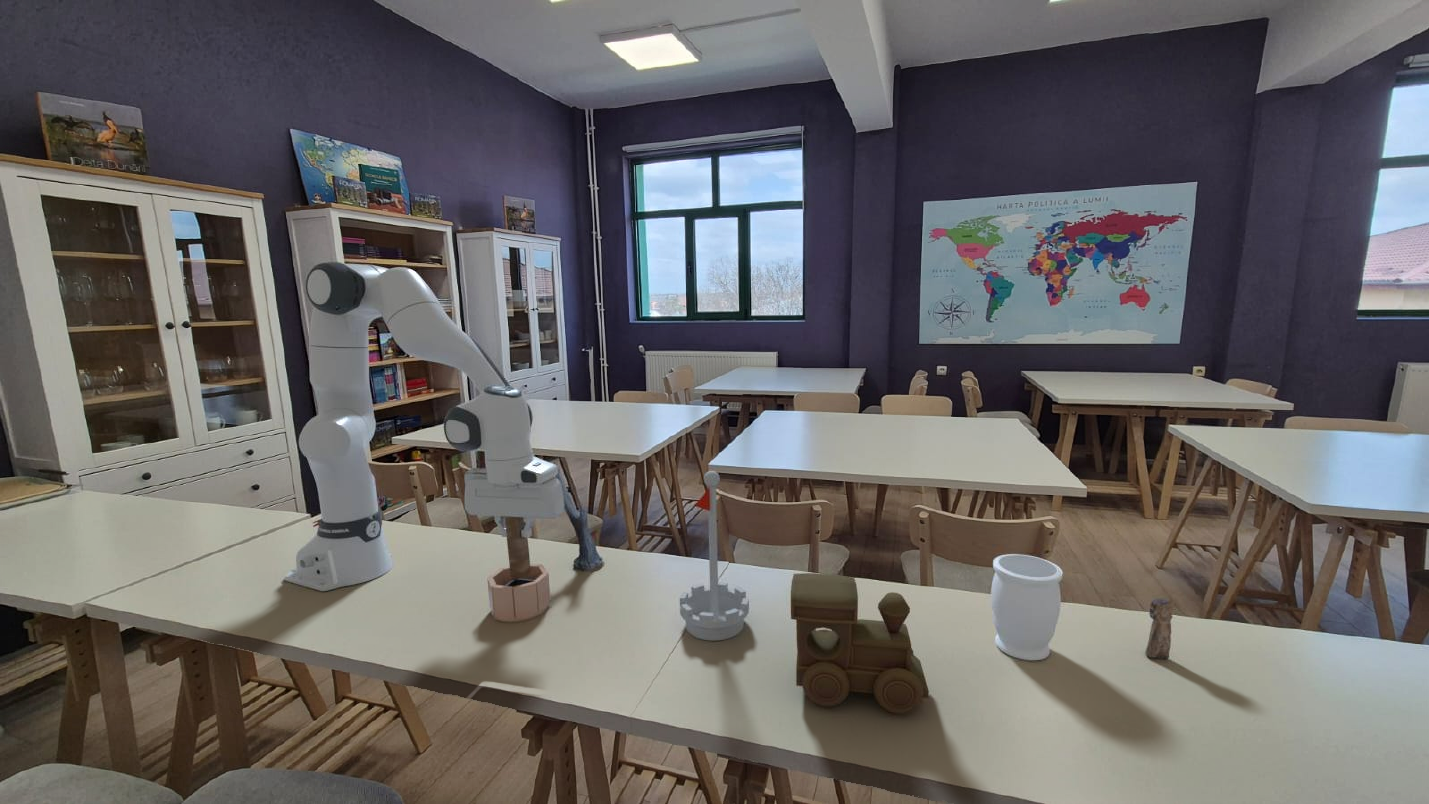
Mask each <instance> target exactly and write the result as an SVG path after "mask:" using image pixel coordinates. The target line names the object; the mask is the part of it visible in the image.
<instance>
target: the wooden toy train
mask: <svg viewBox="0 0 1429 804" xmlns="http://www.w3.org/2000/svg"><path fill="white" fill-rule="evenodd" d="M856 582H857V581H856V579H855V577H854V576H849V575H848V576H847V575H842V574H840V575H839V574H832V573H830V574H829V573H816V572H815V573H813V572H808V573H807V572H805V573H804V572H803V573H794V574H793V576H792V579H791V585H790V586H791V587H790V619H791V620H794V621H796V628H795V629H796V651H797V652H796V664H795V666H796V667H795V668H796V669H795V670H796V672H795V673H796V674H795V675H796V676H795V677H796V680H795V683H796V684H795V685H796V687H802V689H803V692H804V693H805V695H806V697H807V698H809V700H810V701H811V702H813V703H815V704H816V705H818V706H820V707H821V706H822V707H827V708H828V707H834V706H839V705H840V704H841V703H842V702H844V701H845V700H846V699H847V697H848V696H849V694H850V692H858V693H866V694H867V693H869V694H873V697H874V698H875V699H876V701H877V703H878V704H879V705H880V706H881V707H882V708H883V709H884V710H886V711H888V712H890V713H891V714H896V715H906V714H908V713H911V712H914V711H915V710H916V709H918V707H919V706H920V705H921V704H922V703H921V702H922V701H923V699H929V697H930V696H929V695H930V694H929V693H930V692H929V691H930V690H929V688H928V685H927V680H926V677H925V674H924V671H923V666H922V663H921V660H920V659H919V658H918V657H916V655H915V654H914V650H913V647H912V642H911V637H910V633H909V630H908V627H907V625H906V623H904V622H906V619H907V618H908V616H909V614H910V612H911V608H910V606H909V605H908V602H907V601H906V599H905V598H904V596H903V595H902V594H900V593H898V592H893V591H892V592H888V593H886V594H885V595H884V596H883V598H882V599H880V601H879V602H878V603H877V609H878V611H879V614H880V616H881V618H882V620H875V619H874V620H873V619H861V618H860V619H858V617H859V616H858V614H859V609H858V608H859V596H858V595H859V594H858V587H857V583H856ZM817 629H818V630H817Z"/></svg>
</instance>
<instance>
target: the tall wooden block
mask: <svg viewBox="0 0 1429 804" xmlns="http://www.w3.org/2000/svg"><path fill="white" fill-rule="evenodd" d="M526 523H527V522H524V518H523V517H506V516H505V525H506V535H507V537H506V542H507V543H506V545H507V552H508V564H509V566H510V575H511V577H513V578H524V577H525V576H527V575H528V574H529V573H530V572H531V568H530V564H531V557H530V548H529V538H521V536H520V535H521V534H520V530H521V529H523V528H524V527H525V525H526Z"/></svg>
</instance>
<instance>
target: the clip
mask: <svg viewBox="0 0 1429 804" xmlns="http://www.w3.org/2000/svg"><path fill="white" fill-rule="evenodd" d="M533 581H535V580H534V579H524V578H513V579H512V580H511V581H510V582H508V583H507V584H506V585H505V586H512V587H514V586H518V585H522V584H526V583H530V582H533Z"/></svg>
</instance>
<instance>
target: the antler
mask: <svg viewBox="0 0 1429 804" xmlns="http://www.w3.org/2000/svg"><path fill="white" fill-rule="evenodd" d="M553 464H555V465H556V466H557V467H558V474H557V475H555V476H554V477H556V478H557V479H558V480H559V481H560V483H561V486H562V491H563V497H564V510H565V513H566V514H567V516H568V519H569V521H570V523H571V524H572V527H573V528H574V532H575V535H576V538H577V540H578V547H579V548H578V551H579V554H578V556H577V557H575V558H574V560H573V565H572V567H573V570H576V571H578V572H580V571H581V572H582V571H583V572H584V573H590V572H595V571H598V570H601V568H602V567H603V566H605V562H604V561H603V556H602V557H601V556H600V554H599V553H598V551H597V547H596V543H595V541H594V540H593V536H592V534H591V533H590V529H589V527H588V525H589V523H588V522H589V521H588V510H587V509H586V508H580V509H579V511H578V510H577V508H576V506H575V505H574V502H573V501H572V498H571V496H570V493H569V491H568V487H567V486H566V482H565V479H564V477H563V476H562V475H563V474H562V473H561V469H560V467H559V465H557V462H556V461H555V462H553Z"/></svg>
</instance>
